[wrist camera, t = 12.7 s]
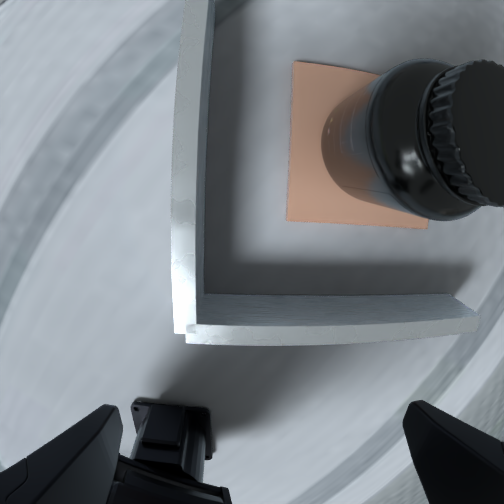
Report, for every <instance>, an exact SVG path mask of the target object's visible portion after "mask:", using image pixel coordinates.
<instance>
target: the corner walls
mask: <svg viewBox="0 0 504 504" xmlns="http://www.w3.org/2000/svg"><path fill="white" fill-rule="evenodd" d="M215 15H216V12H215V5H214V0H185V7H184V14H183V22H182V30H181V39H180V48H179V58H178V69H177V80H176V93H175V107H174V124H173V144H172V174H171V263H172V293H173V314H174V331H175V333H181V334H186V343H190V344H212V345H248V346H297V345H333V344H354V343H371V342H385V341H398V340H409V339H419V338H429V337H438V336H446V335H454V334H462V333H469V332H476V331H477V328H478V325H479V322H480V318H481V315H479V314H478V313H476V312H475V311H474V310H472V309H471V308H469V307H468V306H466V305H465V304H463V303H462V302H460V301H459V300H457V299H456V298H454V297H453V296H451V295H450V294H448V293H442V294H411V295H356V296H298V295H240V294H208V293H204V216H205V176H206V149H207V127H208V108H209V91H210V76H211V62H212V49H213V37H214V26H215Z"/></svg>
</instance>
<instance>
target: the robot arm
mask: <svg viewBox="0 0 504 504" xmlns="http://www.w3.org/2000/svg"><path fill="white" fill-rule="evenodd" d="M136 407H138V408H136ZM131 412H132V416H133V421H134V425H135V429H136V433H137V437H136V440H135V443H134V446H133V449H132V452H131V456H130V458H127V457H125V456H122V455H120V453H119V448H120V443H121V438H122V433H123V425H122V421H121V417H120V413H119V410H118V408H117V406H114V405H108V404H104V405H102V406H100V407H99V408H98V409H96V410H95V411H93V412H92V413H90V414H89V415H88V416H86V417H85V418H83V419H82V420H80V421H79V422H77V423H76V424H75V425H73V426H72V427H70V428H69V429H67V430H66V431H64V432H63V433H61V434H60V435H58V436H57V437H55V438H54V439H52V440H51V441H49V442H48V443H47V444H45V445H44V446H42V447H41V448H39V449H37V450H36V451H34V452H33V453H31V454H30V455H28V456H27V459H26V458H24V459H22V460H21V461H19V462H17V463H16V464H14V465H13V466H11V467H9V468H8V469H6V470H4V471H2V472H0V504H232V501H231V497H230V494H229V490H228V488H226V487H217V486H213V485H209V484H205V483H203V472H204V460H211V459H212V437H211V416H210V410H209V409H207V408H201V407H185V406H172V405H162V404H152V403H143V402H133V403H132V405H131ZM202 413H205V414H202ZM403 429H404V432H405V436H406V439H407V443H408V446H409V450H410V454H411V457H412V460H413V463H414V466H415V469H416V471H417V474H418V476H419V479H420V481H421V484H422V486H423V489H424V491H425V494H426V496H427V499H428V502H429V504H504V442H502V441H500V440H498V439H496V438H494V437H492V436H490V435H488V434H486V433H484V432H482V431H480V430H478V429H476V428H474V427H472V426H470V425H469V424H467V423H465V422H463V421H461V420H459V419H457V418H455V417H453V416H451V415H449V414H447V413H446V412H444V411H442V410H440V409H438V408H436V407H434V406H432V405H431V404H429V403H427V402H425V401H423V400H418V401H413V402H411V403H410V404H409V406H408V409H407V411H406V414H405V416H404V419H403Z"/></svg>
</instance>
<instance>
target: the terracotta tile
mask: <svg viewBox="0 0 504 504" xmlns="http://www.w3.org/2000/svg"><path fill="white" fill-rule="evenodd" d="M379 76H381V75H377V74H373V73H368V72H363V71H358V70H352V69H347V68H341V67H335V66H328V65H321V64H314V63H306V62H297V61H294V62H293V64H292V91H291V121H290V146H289V168H288V187H287V205H286V220H287V221H297V222H318V223H337V224H354V225H371V226H386V227H401V228H415V229H427V228H428V220H429V219H426V218H422V217H419V216H415V215H412V214H408V213H405V212H401V211H397V210H394V209H390V208H386V207H383V206H379V205H375V204H371V203H368V202H365V201H361V200H359V199H356V198H354V197H352V196H350V195H349V194H347V193H346V192H344V191H343V190H342V189H341V188H340V187H339V186H338V185H337V184H336V183H335V182H334V181H333V179H332V178H331V176H330V175H329V173H328V171H327V169H326V167H325V164H324V161H323V157H322V152H321V136H322V131H323V127H324V124H325V122H326V120H327V118H328V116H329V115H330V113H331V112H332V111H333V109H334V108H335V107H336V106H337V105H339V104H340V103H341V102H342V101H344V100H345V99H346V98H348V97H349V96H351V95H352V94H354V93H355V92H357V91H358V90H360V89H361V88H363V87H364V86H366V85H367V84H369V83H370V82H372V81H373V80H375V79H376V78H378V77H379Z"/></svg>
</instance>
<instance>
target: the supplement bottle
mask: <svg viewBox="0 0 504 504" xmlns="http://www.w3.org/2000/svg"><path fill="white" fill-rule="evenodd" d="M321 152H322V157H323V161H324V164H325V167H326V169H327V171H328V173H329V175H330V176H331V178H332V179H333V181H334V182H335V183H336V184H337V185H338V186H339V187H340V188H341V189H342V190H343V191H344V192H346V193H347V194H349V195H350V196H352V197H354V198H356V199H359V200H361V201H365V202H368V203H371V204H375V205H379V206H383V207H386V208H390V209H394V210H397V211H401V212H405V213H408V214H412V215H415V216H419V217H422V218H426V219H430V220H436V221H452V220H457V219H461V218H463V217H466V216H468V215H470V214H471V213H473V212H475V211H476V210H477V209H479V208H480V207H481V206H487V205H489V206H494V207H504V67H503V66H502V65H497V64H496V63H495V62H493V61H486V60H478V61H470V62H467V63H465V64H462V65H460V66H453V65H451V64H449V63H446V62H443V61H440V60H435V59H427V58H425V59H413V60H410V61H406V62H404V63H402V64H399V65H397V66H395V67H394V68H392V69H390V70H389V71H387V72H386V73H384V74H383V75H381V76H379V77H378V78H376V79H375V80H373V81H372V82H370V83H369V84H367V85H366V86H364V87H363V88H361V89H360V90H358V91H357V92H355V93H354V94H352V95H351V96H349V97H348V98H346V99H345V100H344V101H342V102H341V103H340V104H339V105H337V106H336V107H335V108H334V109H333V111H332V112H331V113H330V115H329V116H328V118H327V120H326V122H325V124H324V127H323V131H322V136H321Z"/></svg>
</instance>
